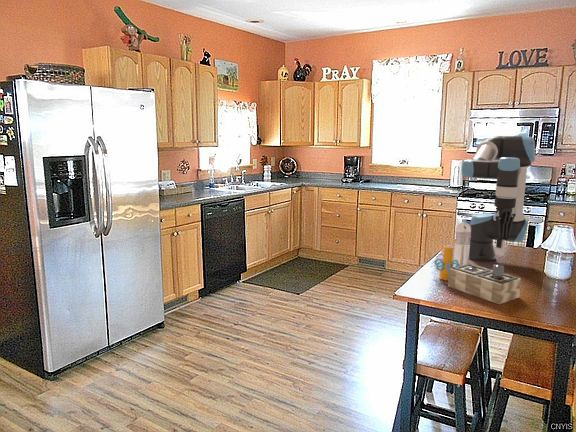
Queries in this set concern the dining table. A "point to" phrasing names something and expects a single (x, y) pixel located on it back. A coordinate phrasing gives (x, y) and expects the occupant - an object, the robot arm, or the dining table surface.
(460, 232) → the water bottle
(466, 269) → the peg
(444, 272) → the ringed orange tube
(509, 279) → the socket block
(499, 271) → the peg
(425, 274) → the dining table surface
